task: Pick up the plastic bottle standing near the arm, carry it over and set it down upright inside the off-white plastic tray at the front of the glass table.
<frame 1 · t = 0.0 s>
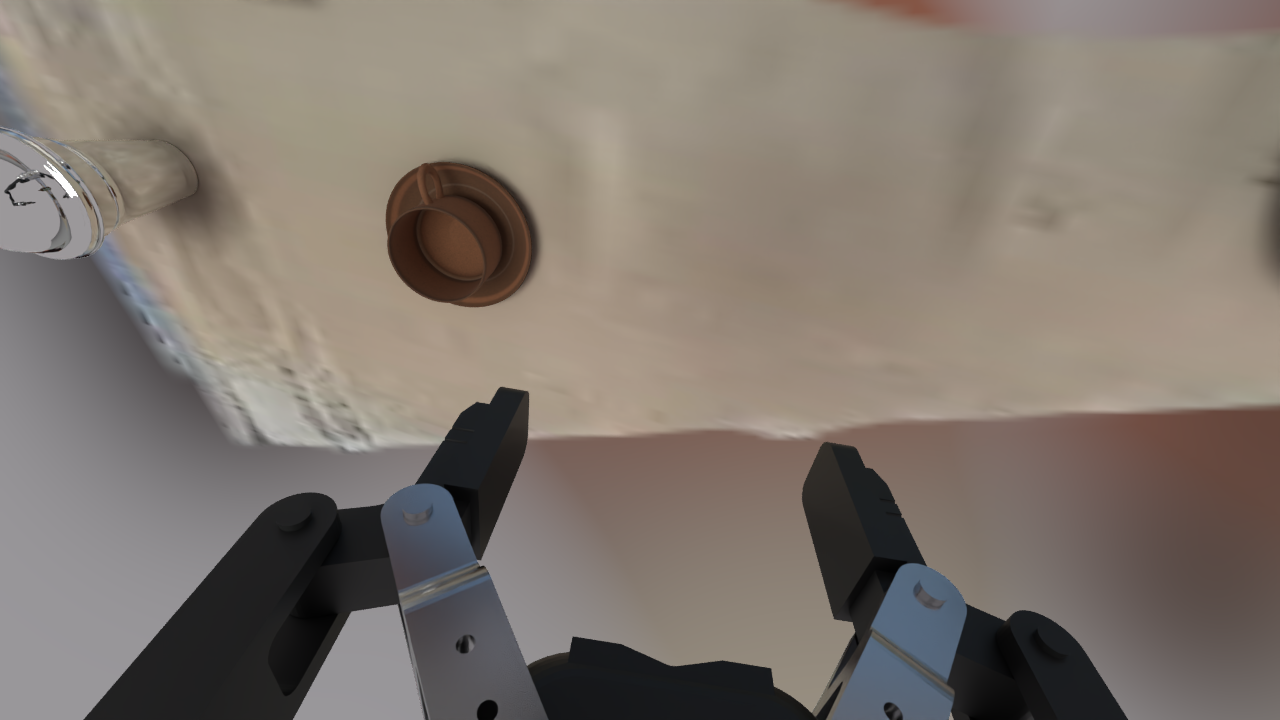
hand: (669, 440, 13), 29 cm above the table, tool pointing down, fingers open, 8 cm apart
cup with straw: (170, 171, 41), on the table
cup and saucer: (468, 232, 41), on the table
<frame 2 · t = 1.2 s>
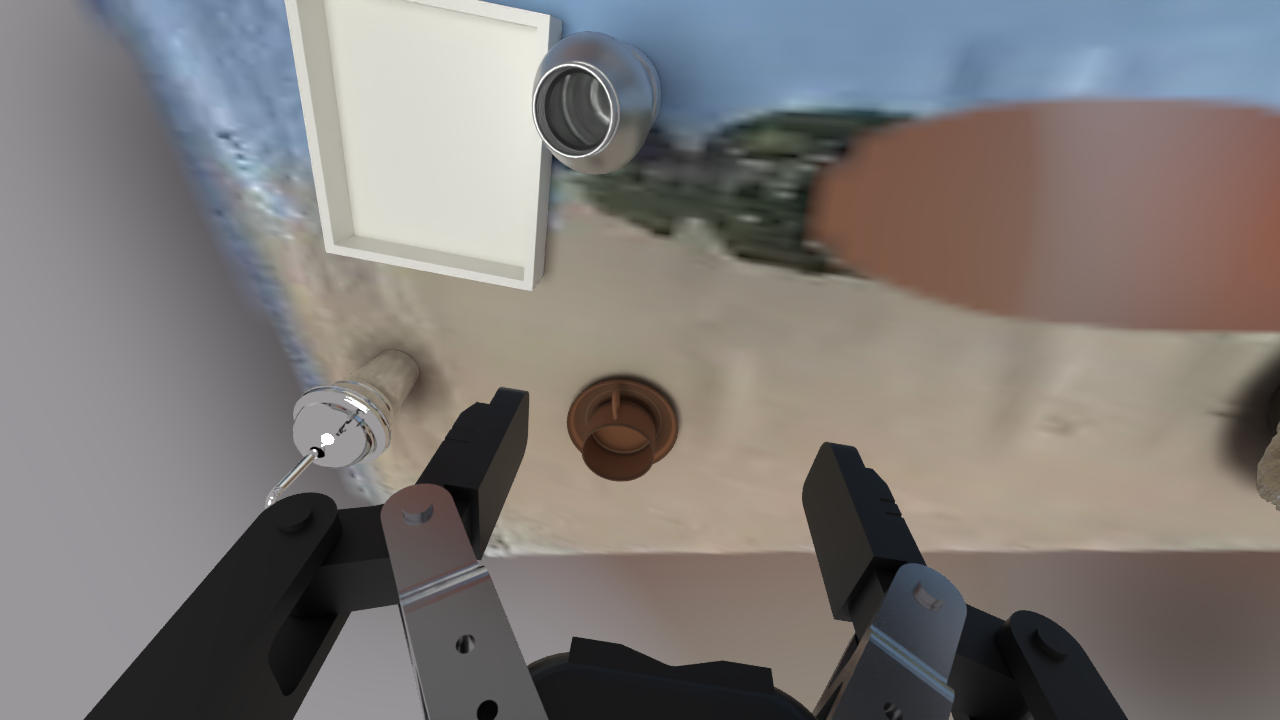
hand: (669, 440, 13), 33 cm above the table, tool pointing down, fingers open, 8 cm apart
cup with straw: (398, 368, 53), on the table
plastic bottle: (621, 95, 38), on the table
cup and saucer: (624, 416, 54), on the table
tray: (445, 142, 40), on the table
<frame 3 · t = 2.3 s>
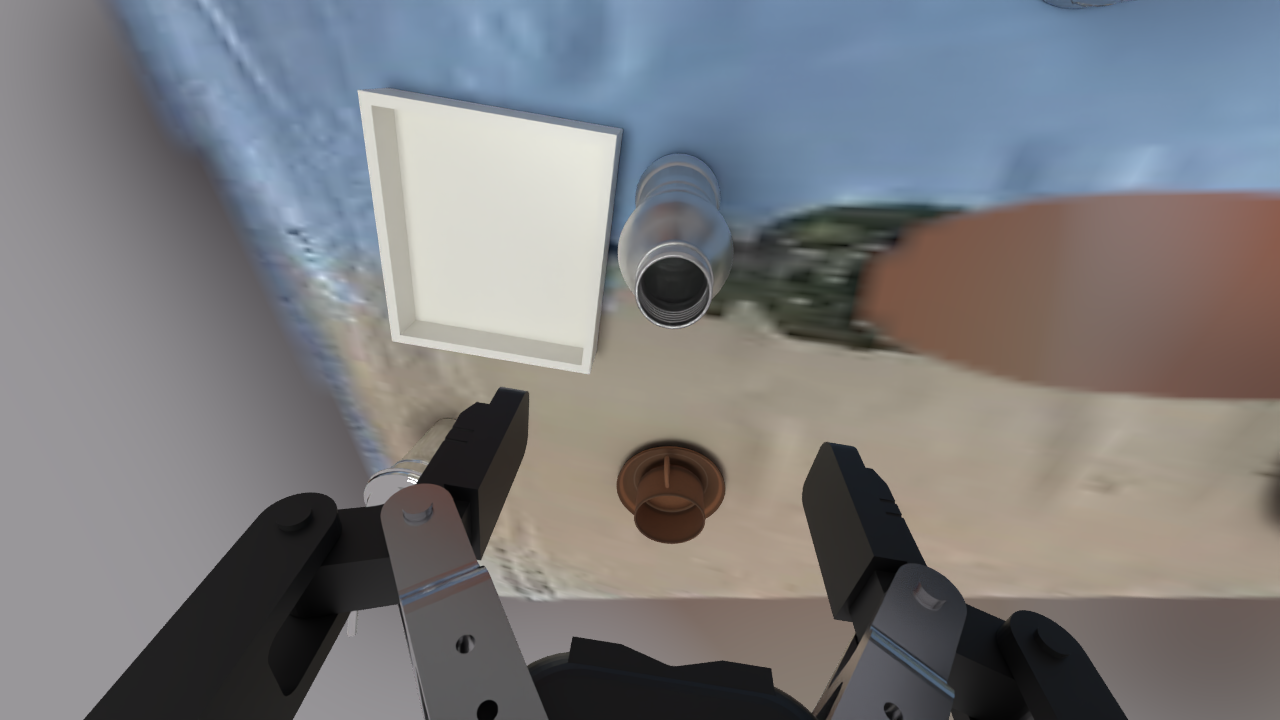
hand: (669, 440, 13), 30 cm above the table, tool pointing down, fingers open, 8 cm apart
cup with straw: (452, 434, 55), on the table
plastic bottle: (677, 193, 39), on the table
cup and saucer: (670, 476, 56), on the table
tray: (505, 236, 42), on the table
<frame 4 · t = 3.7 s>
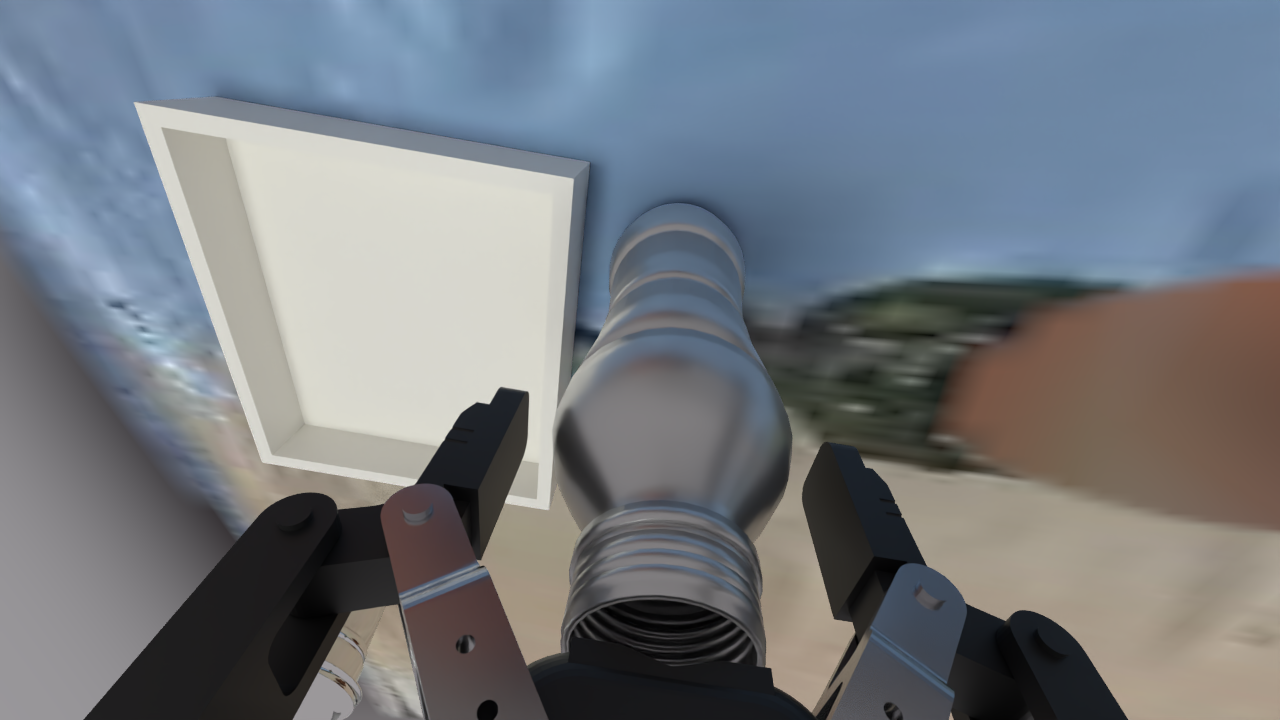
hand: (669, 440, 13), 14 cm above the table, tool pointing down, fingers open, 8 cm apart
cup with straw: (377, 554, 41), on the table
plastic bottle: (677, 257, 25), on the table
tray: (421, 315, 28), on the table
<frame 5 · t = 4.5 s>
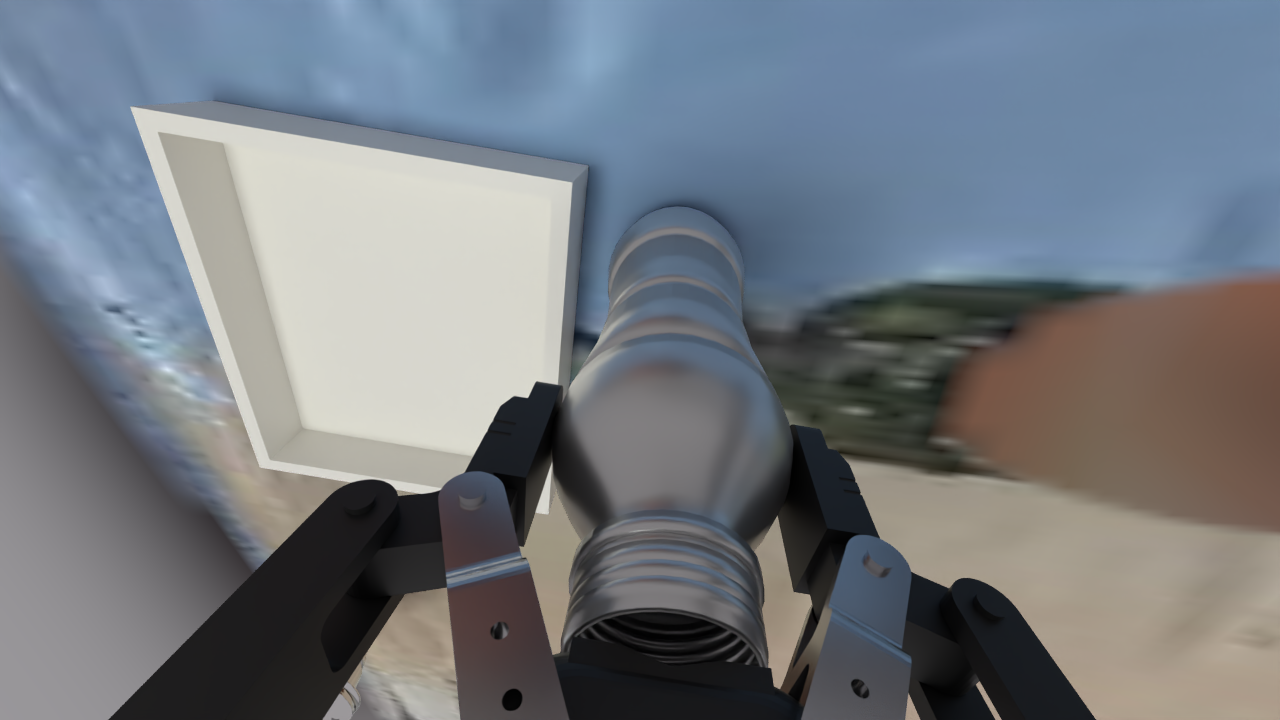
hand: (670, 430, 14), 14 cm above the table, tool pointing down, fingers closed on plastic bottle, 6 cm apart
cup with straw: (376, 558, 41), on the table
plastic bottle: (676, 261, 25), on the table, touching gripper
tray: (420, 319, 28), on the table
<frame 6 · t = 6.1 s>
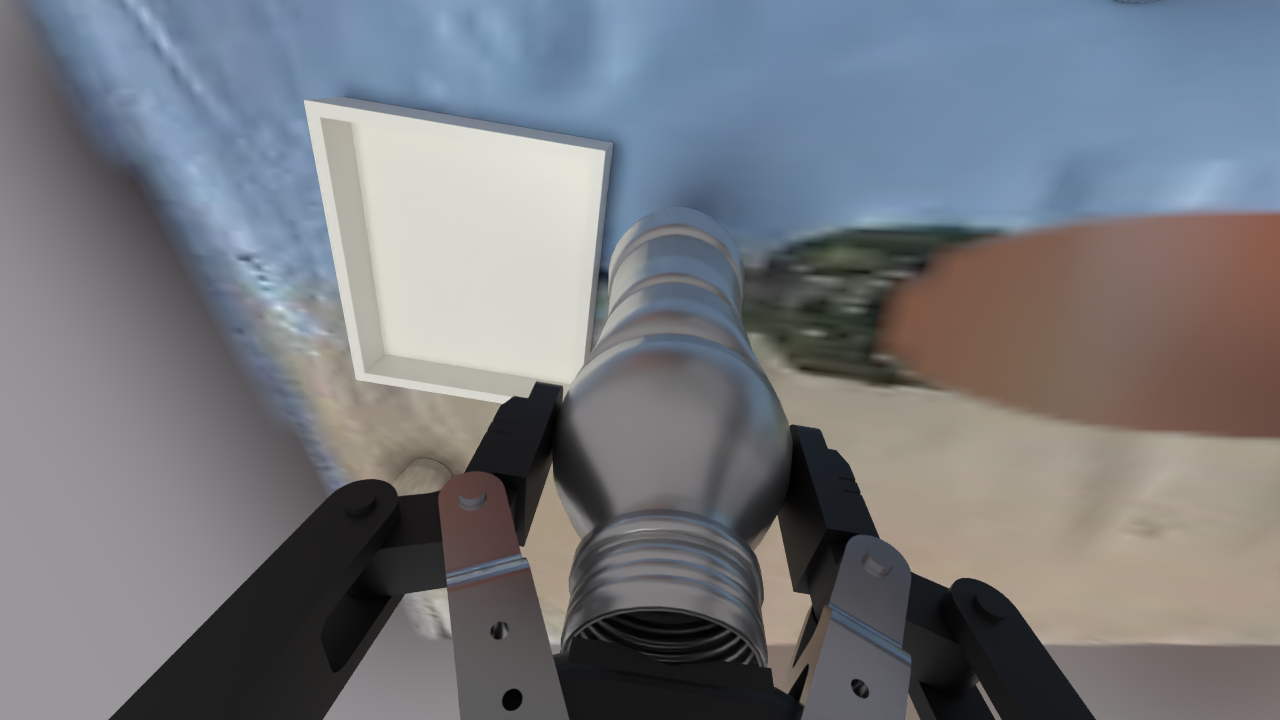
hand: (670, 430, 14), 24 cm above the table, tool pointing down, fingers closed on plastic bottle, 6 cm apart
cup with straw: (429, 474, 50), on the table
plastic bottle: (676, 261, 25), point 10 cm above the table, touching gripper
tray: (482, 263, 37), on the table
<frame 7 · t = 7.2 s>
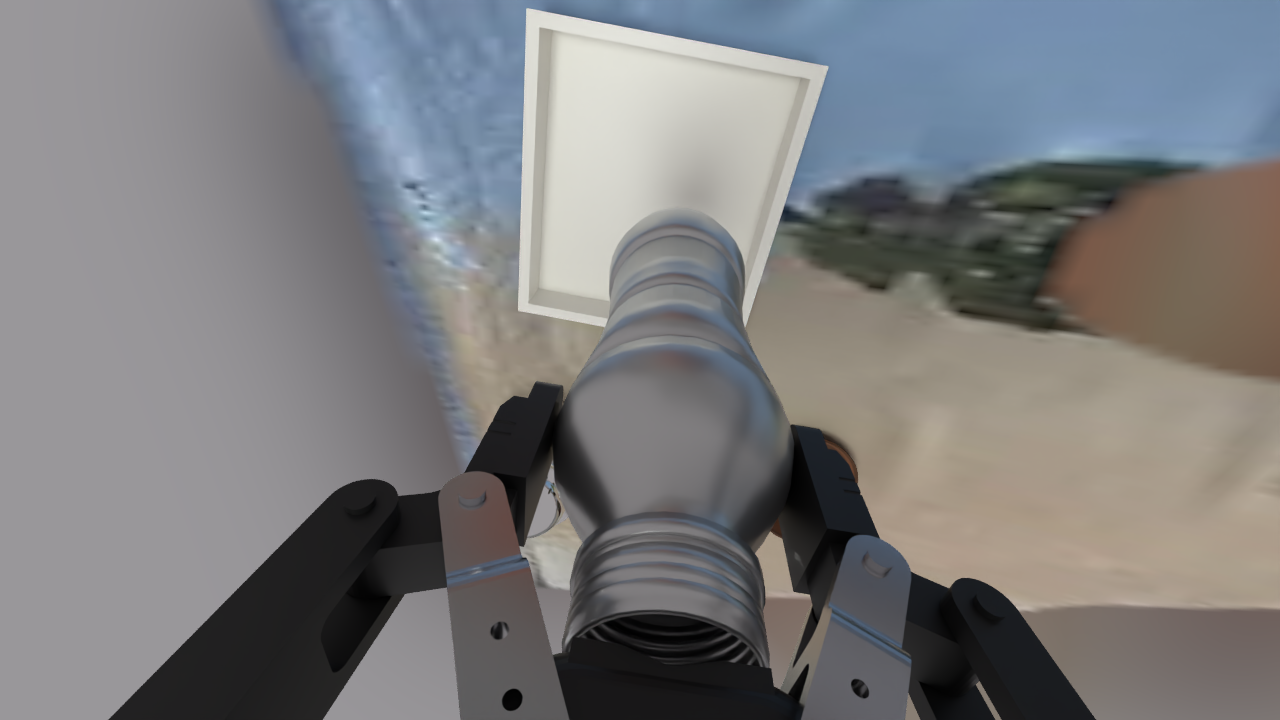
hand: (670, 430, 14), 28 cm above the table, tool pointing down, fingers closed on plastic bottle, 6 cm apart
cup with straw: (555, 417, 50), on the table
plastic bottle: (677, 262, 25), point 14 cm above the table, touching gripper
cup and saucer: (792, 468, 51), on the table
tray: (653, 194, 37), on the table
when the fingers open (16 cm above the table, at t = 10.4 s): plastic bottle drops 1 cm, resting on tray.
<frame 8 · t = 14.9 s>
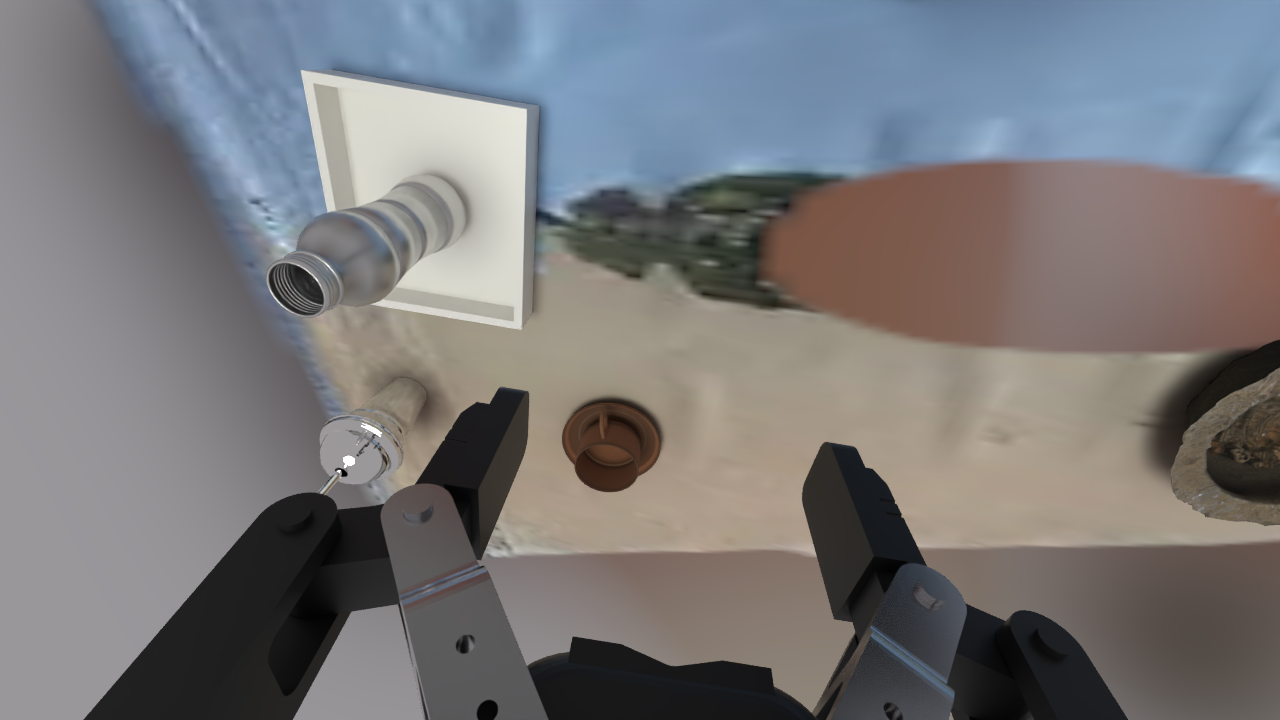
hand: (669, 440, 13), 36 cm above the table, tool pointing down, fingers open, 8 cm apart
cup with straw: (408, 393, 59), on the table
plastic bottle: (440, 206, 46), point 1 cm above the table, touching tray
stone bowl: (1262, 399, 51), on the table
cup and saucer: (613, 433, 61), on the table
tray: (443, 204, 47), on the table
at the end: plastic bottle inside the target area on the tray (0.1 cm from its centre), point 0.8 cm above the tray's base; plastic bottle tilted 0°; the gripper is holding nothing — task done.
